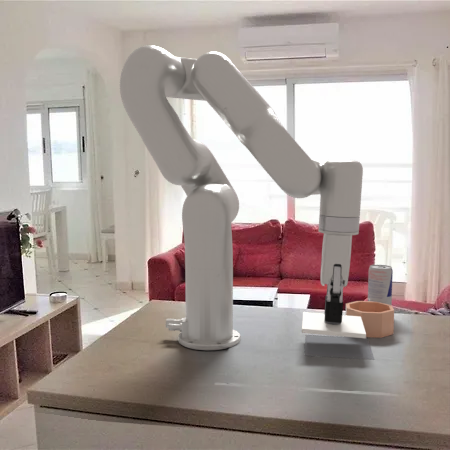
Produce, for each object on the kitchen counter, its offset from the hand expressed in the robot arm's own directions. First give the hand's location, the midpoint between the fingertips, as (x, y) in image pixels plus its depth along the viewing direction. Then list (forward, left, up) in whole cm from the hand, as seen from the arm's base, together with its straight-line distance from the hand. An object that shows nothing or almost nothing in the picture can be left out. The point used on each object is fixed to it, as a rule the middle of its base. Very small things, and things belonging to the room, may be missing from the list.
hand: (332, 318), depth 107 cm
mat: (+1, 0, -6) cm, 6 cm away
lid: (0, 0, -2) cm, 2 cm away
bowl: (+8, +11, -6) cm, 15 cm away
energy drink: (+12, +23, -6) cm, 27 cm away
